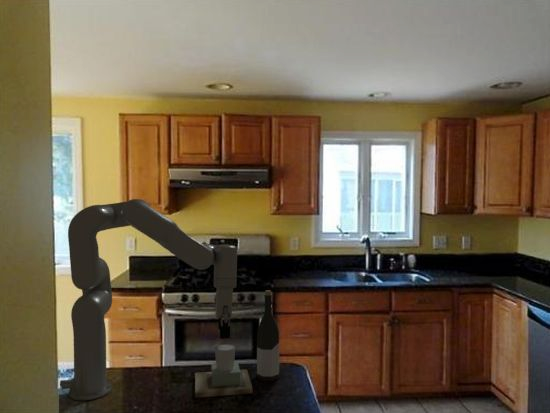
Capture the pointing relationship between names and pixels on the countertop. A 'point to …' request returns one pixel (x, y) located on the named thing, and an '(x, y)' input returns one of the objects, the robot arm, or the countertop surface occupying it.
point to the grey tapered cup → (225, 357)
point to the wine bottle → (268, 344)
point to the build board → (207, 390)
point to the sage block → (226, 376)
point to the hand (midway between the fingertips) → (223, 333)
